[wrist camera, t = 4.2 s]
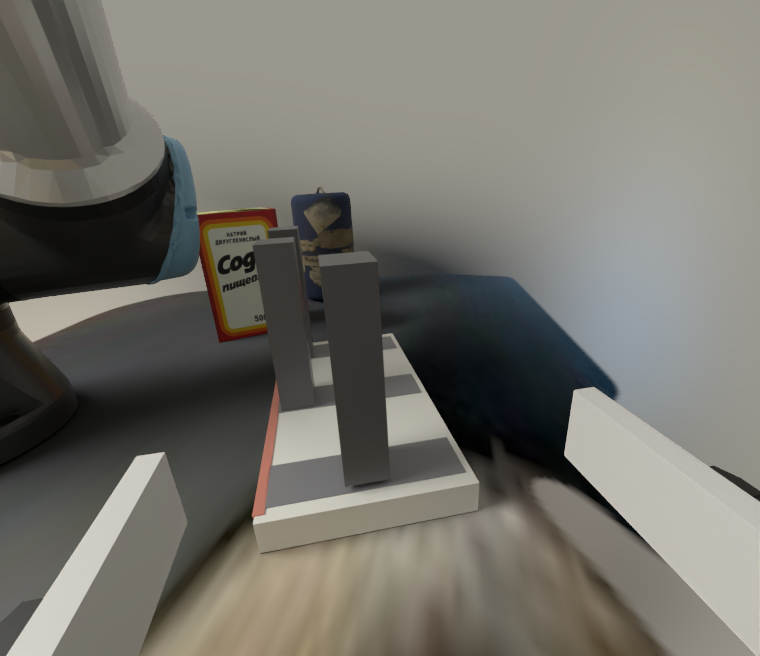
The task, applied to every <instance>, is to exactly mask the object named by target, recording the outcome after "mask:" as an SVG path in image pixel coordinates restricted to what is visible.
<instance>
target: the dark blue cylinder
mask: <svg viewBox="0 0 760 656" xmlns="http://www.w3.org/2000/svg"><path fill="white" fill-rule="evenodd" d="M319 189H321V191H322V193H319ZM291 206H292V215H293V224H294V226H298V230H299V238H300V245H301V253H302V261H303V268H304V276H305V284H306V291H307V297H308V298H311V299H317V300H323V292H322V284H321V275H320V266H319V258H318V255H327V254H338V253H350V252H354V242H353V230H352V220H351V205H350V198H349V196H348V194H346V193H344V192H340V193H325V192H324V191H323V189H322V187H318V189H317V192H316V194H307V195H296V196H294V197H293V198H292V200H291Z"/></svg>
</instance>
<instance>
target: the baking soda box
mask: <svg viewBox="0 0 760 656" xmlns="http://www.w3.org/2000/svg"><path fill="white" fill-rule="evenodd" d="M197 216H198V219H199V231H200V249H199V256H200V259H201V264H202V269H203V273H204V277H205V282H206V286H207V290H208V295H209V299H210V304H211V308H212V312H213V317H214V321H215V325H216V330H217V334H218V338H219V343H220V342H225V341H230V340H235V339H240V338H245V337H250V336H255V335H260V334H265V333H268V330H267V325H266V319H265V313H264V308H263V302H262V296H261V291H260V285H259V279H258V274H257V268H256V262H255V257H254V251H253V244H254V243H255V242H257V241H258V240H260V239H269V238H268V232H267V231H268V230H269V229H270V228H275V227H278V225H277V218H276V211H275V209H272V208H248V209H247V208H245V209H241V210H229V211H214V212H202V213H197Z"/></svg>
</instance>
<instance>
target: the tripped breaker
mask: <svg viewBox="0 0 760 656" xmlns="http://www.w3.org/2000/svg"><path fill="white" fill-rule="evenodd" d="M318 258H319V266H320V275H321V284H322V292H323V301H324V310H325V319H326V327H327V336H328V345H329V353H330V362H331V371H332V379H333V388H334V397H335V405H336V414H337V423H338V432H339V440H340V449H341V457H342V466H343V474H344V482H345V487H348V486H354V485H359V484H365V483H371V482H376V481H382V480H388V479H390V463H389V446H388V429H387V412H386V395H385V377H384V360H383V343H382V326H381V309H380V292H379V274H378V261H377V260H376V259H375V258H374V257H373V256H372V255H371V254H370V253H369V252H368V251H362V252H350V253H338V254H327V255H318Z"/></svg>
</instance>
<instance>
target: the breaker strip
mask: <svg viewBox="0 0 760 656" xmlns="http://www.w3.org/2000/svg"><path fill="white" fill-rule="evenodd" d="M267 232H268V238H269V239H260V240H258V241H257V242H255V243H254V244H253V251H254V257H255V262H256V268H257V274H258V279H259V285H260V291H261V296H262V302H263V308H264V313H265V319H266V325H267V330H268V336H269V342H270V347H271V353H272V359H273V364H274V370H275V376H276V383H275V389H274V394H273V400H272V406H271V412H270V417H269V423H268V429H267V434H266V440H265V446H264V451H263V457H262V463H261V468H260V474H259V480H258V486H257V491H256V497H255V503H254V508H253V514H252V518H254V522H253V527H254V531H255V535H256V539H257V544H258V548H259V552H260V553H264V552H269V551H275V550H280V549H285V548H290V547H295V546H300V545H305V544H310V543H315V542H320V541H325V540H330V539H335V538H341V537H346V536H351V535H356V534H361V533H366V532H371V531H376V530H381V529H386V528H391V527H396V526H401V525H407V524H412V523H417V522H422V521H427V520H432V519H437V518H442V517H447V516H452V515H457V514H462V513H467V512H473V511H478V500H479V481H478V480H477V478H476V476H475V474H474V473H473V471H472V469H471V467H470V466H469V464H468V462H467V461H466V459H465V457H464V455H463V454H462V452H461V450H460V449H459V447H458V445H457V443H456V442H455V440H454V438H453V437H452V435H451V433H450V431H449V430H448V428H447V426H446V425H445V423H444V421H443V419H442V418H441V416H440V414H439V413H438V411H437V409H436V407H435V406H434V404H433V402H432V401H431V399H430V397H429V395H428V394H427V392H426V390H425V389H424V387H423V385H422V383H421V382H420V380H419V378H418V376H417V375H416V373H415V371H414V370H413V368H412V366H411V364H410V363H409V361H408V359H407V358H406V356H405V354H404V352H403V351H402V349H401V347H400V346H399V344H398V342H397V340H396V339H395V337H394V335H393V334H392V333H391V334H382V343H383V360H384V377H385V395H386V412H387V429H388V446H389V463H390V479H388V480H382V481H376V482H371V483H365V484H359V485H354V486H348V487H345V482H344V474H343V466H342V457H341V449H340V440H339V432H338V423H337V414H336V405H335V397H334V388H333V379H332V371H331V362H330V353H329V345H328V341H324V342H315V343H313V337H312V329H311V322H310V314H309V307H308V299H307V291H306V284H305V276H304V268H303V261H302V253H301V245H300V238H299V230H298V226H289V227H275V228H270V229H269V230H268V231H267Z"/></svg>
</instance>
